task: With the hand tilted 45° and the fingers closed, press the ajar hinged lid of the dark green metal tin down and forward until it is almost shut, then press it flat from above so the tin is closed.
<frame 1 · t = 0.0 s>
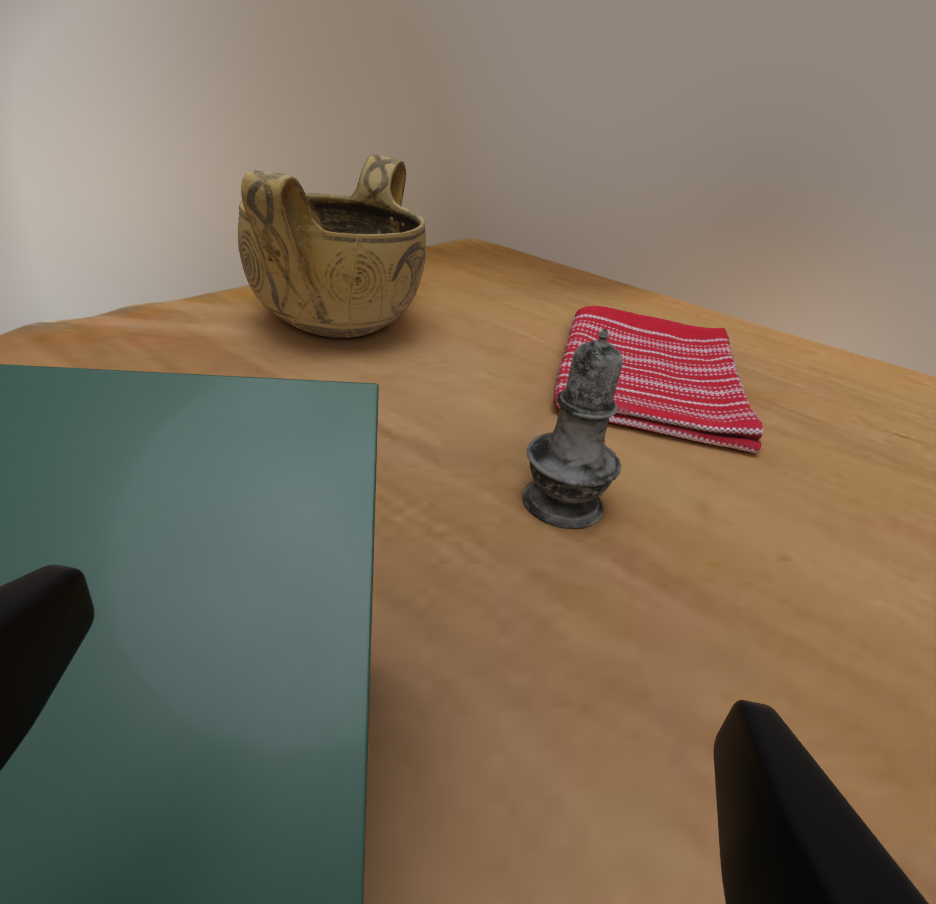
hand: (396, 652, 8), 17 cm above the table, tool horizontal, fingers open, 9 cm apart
lid: (102, 634, 15), point 11 cm above the table, hinge at 25.0°
ceramic bowl: (334, 327, 61), on the table
dish towel: (649, 379, 59), on the table
dark grey tall piece: (562, 504, 40), on the table
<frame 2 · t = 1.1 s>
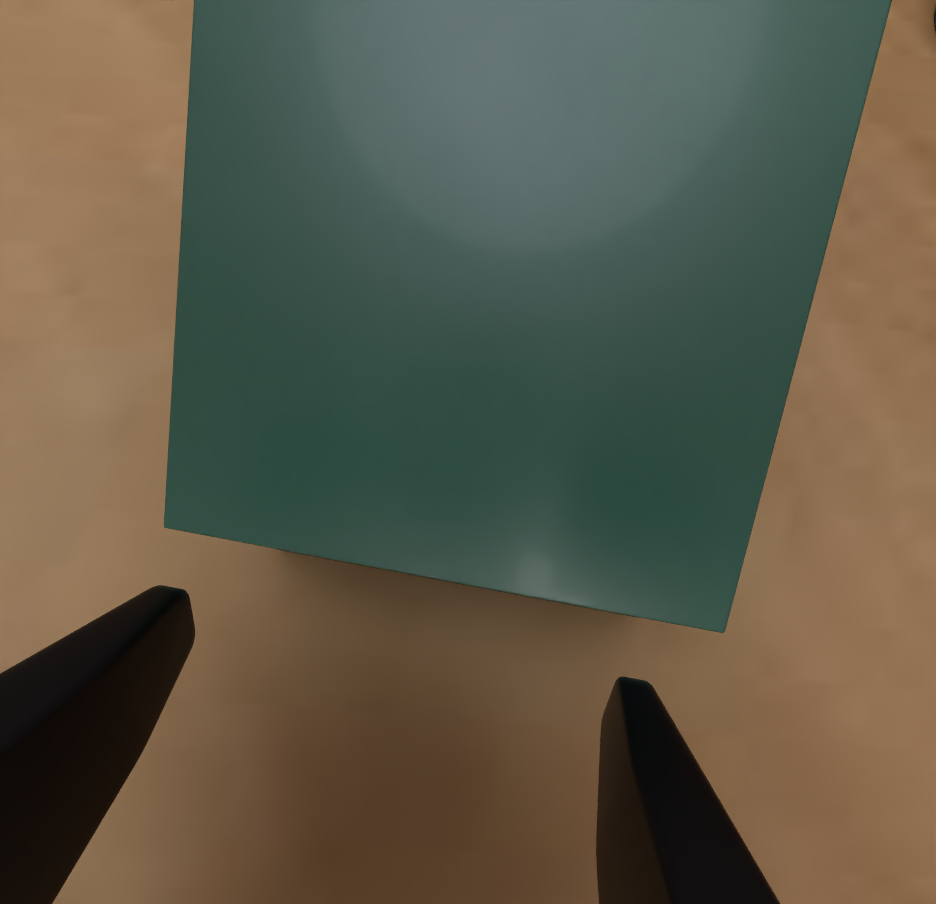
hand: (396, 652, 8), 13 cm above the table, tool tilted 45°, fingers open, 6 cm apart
lid: (493, 216, 12), point 11 cm above the table, hinge at 25.0°
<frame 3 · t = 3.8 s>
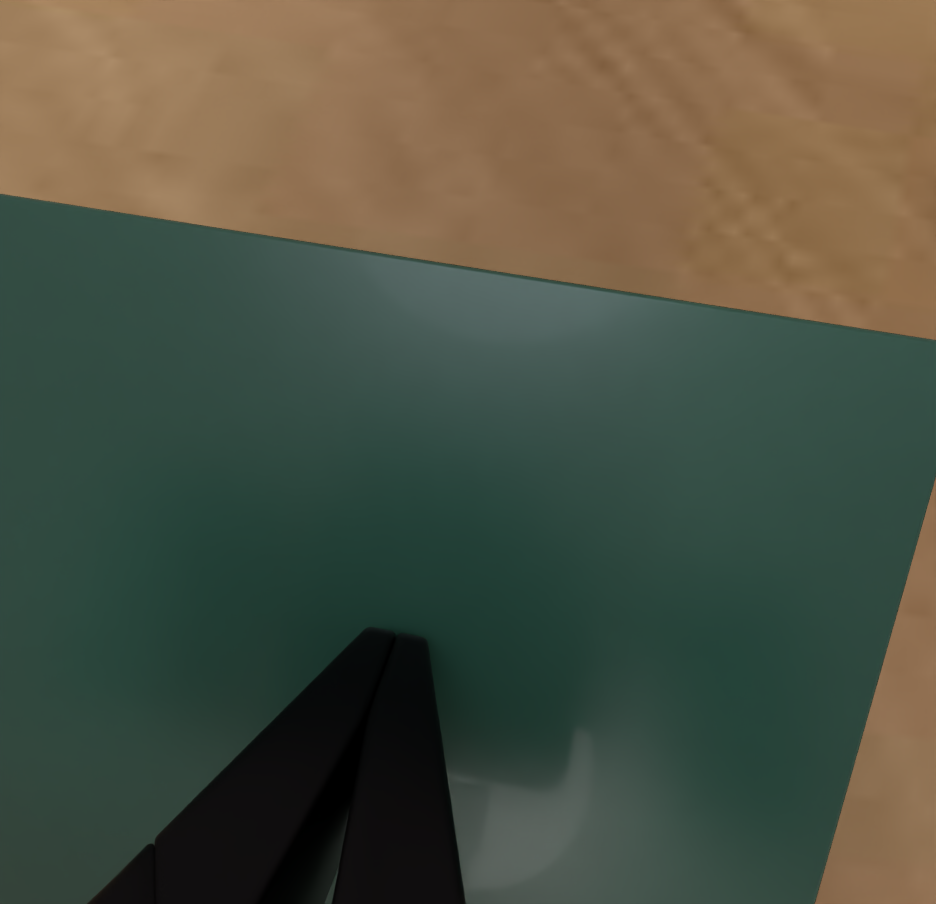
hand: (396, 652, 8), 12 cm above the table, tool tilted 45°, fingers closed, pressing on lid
lid: (378, 789, 9), point 11 cm above the table, hinge at 21.6°, touching gripper
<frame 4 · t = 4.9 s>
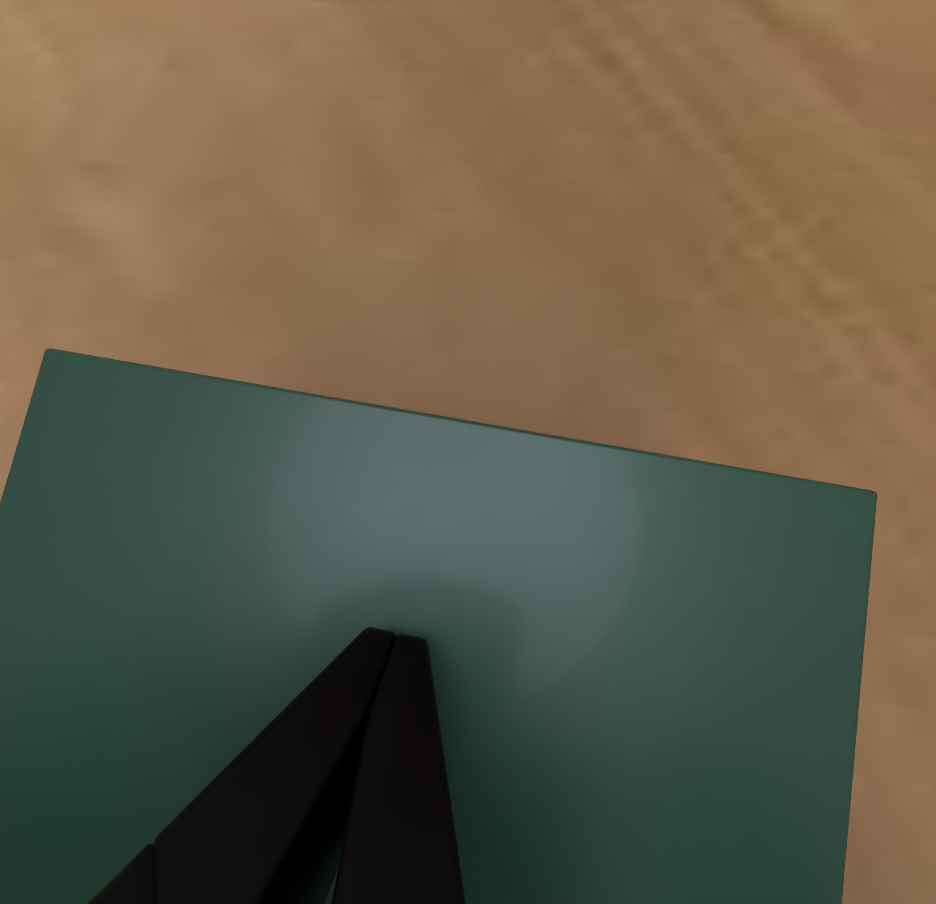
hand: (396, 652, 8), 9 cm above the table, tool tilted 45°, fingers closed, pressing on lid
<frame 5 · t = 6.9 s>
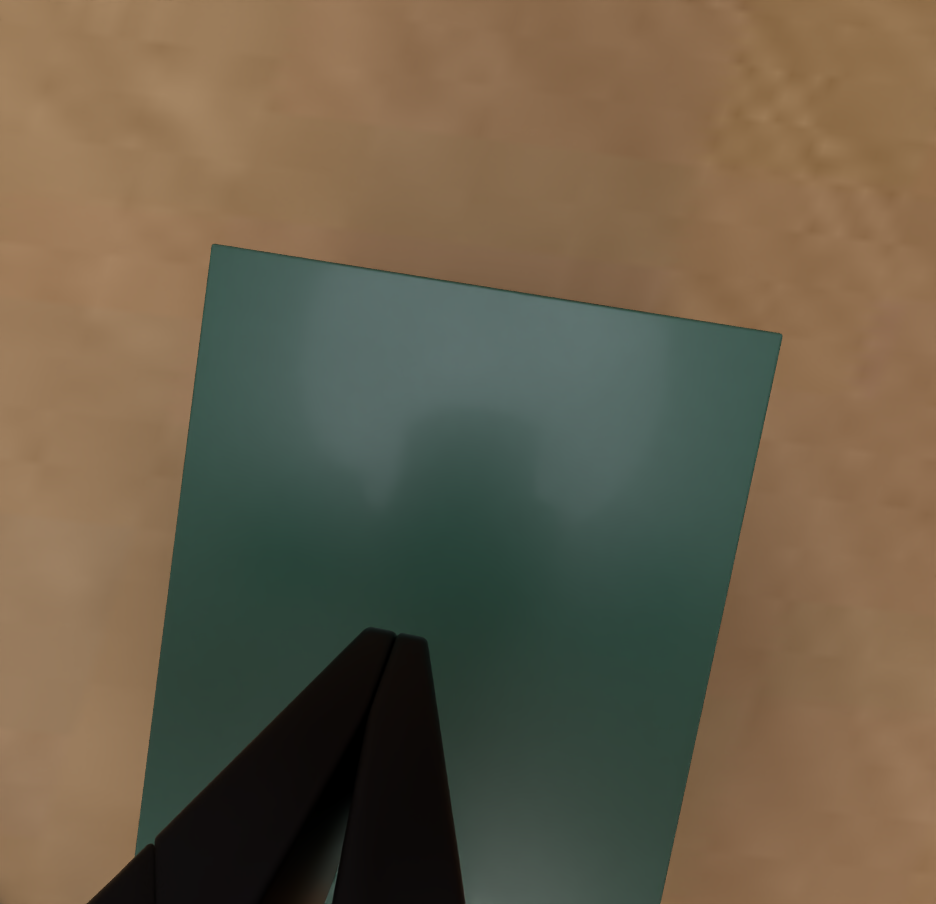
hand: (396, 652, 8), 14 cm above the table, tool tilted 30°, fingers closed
lid: (433, 619, 14), point 8 cm above the table, hinge at 4.5°
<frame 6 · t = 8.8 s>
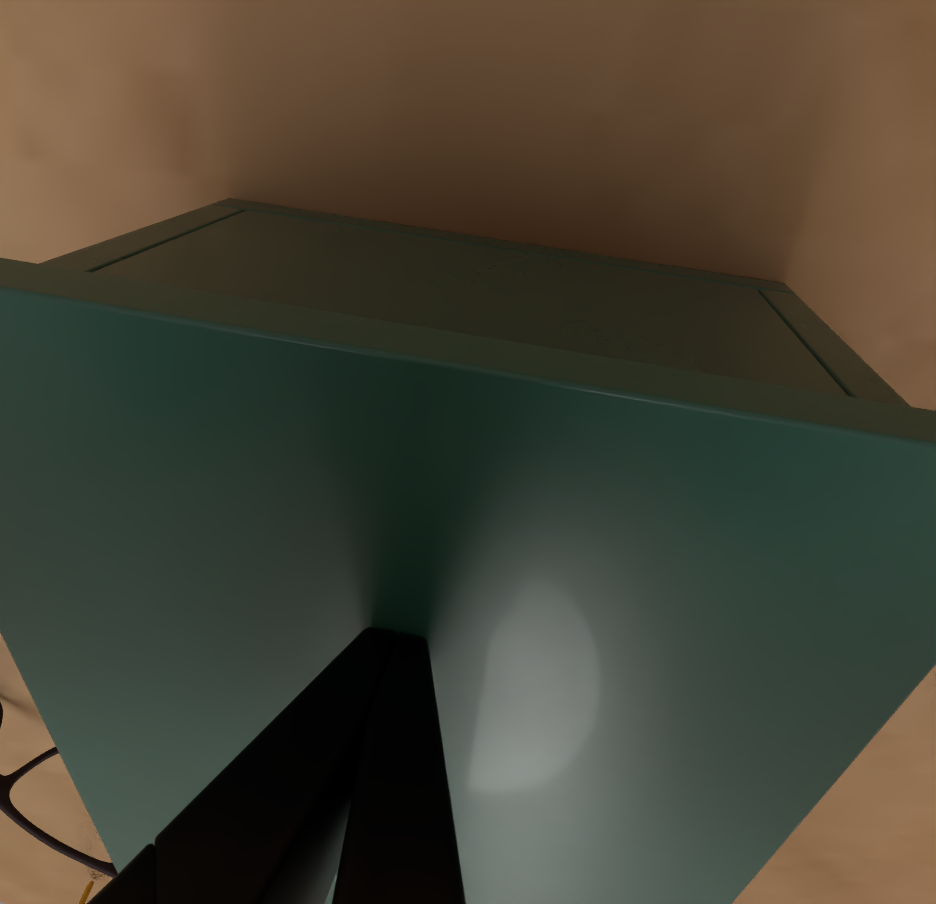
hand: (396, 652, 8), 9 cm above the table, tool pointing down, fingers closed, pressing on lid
lid: (393, 754, 11), point 8 cm above the table, hinge at 2.3°, touching gripper
eyeglasses: (9, 771, 30), on the table
tin: (462, 500, 18), on the table
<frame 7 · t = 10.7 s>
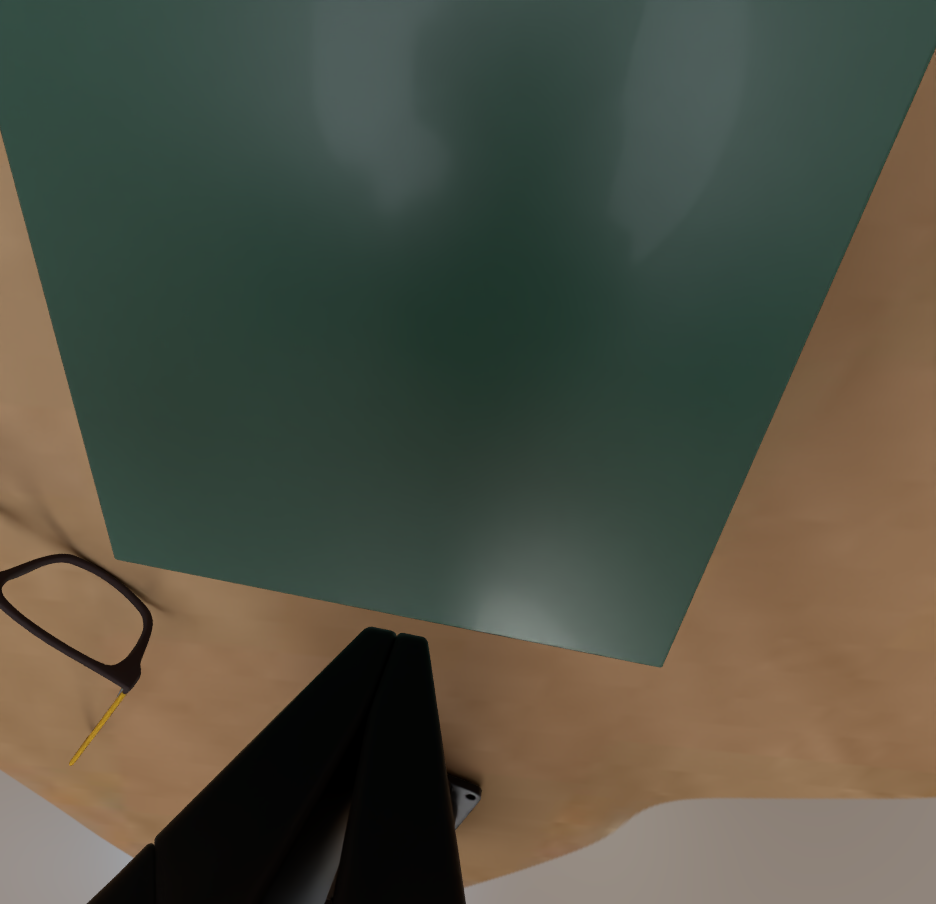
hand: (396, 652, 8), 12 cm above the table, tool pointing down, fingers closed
lid: (403, 265, 10), point 8 cm above the table, hinge at -0.2°, touching tin
eyeglasses: (4, 603, 30), on the table
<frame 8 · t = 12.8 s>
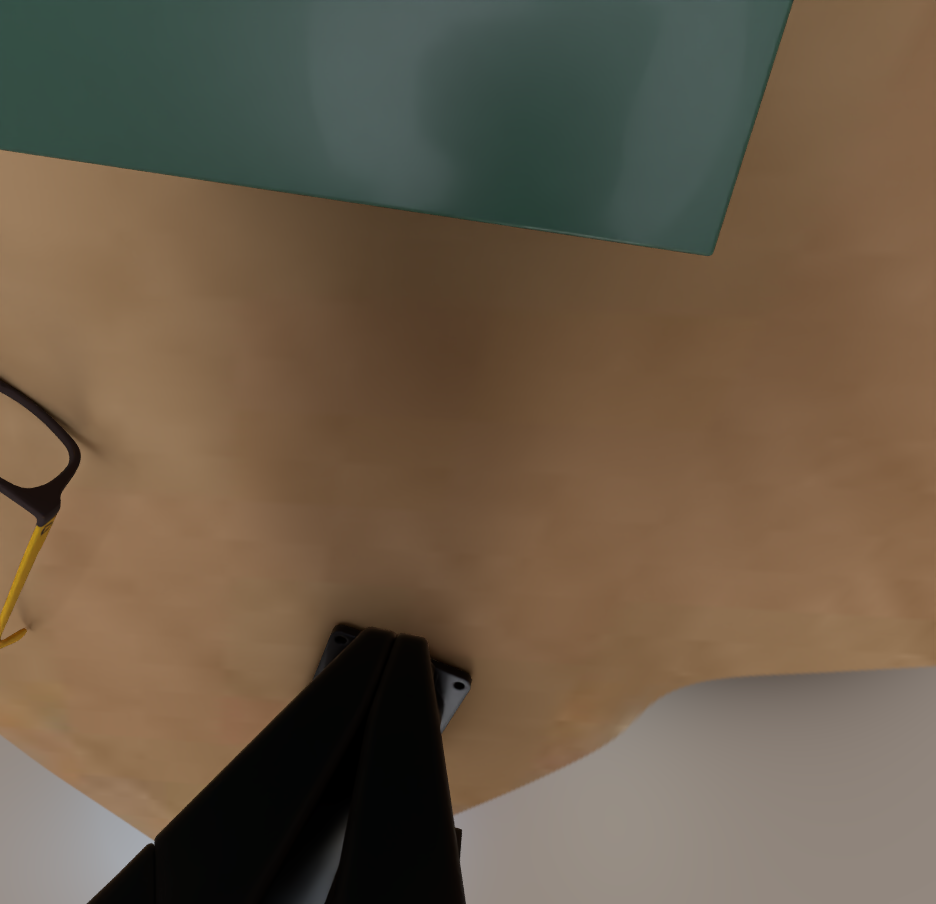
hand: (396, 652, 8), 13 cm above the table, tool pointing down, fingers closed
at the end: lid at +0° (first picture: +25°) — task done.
